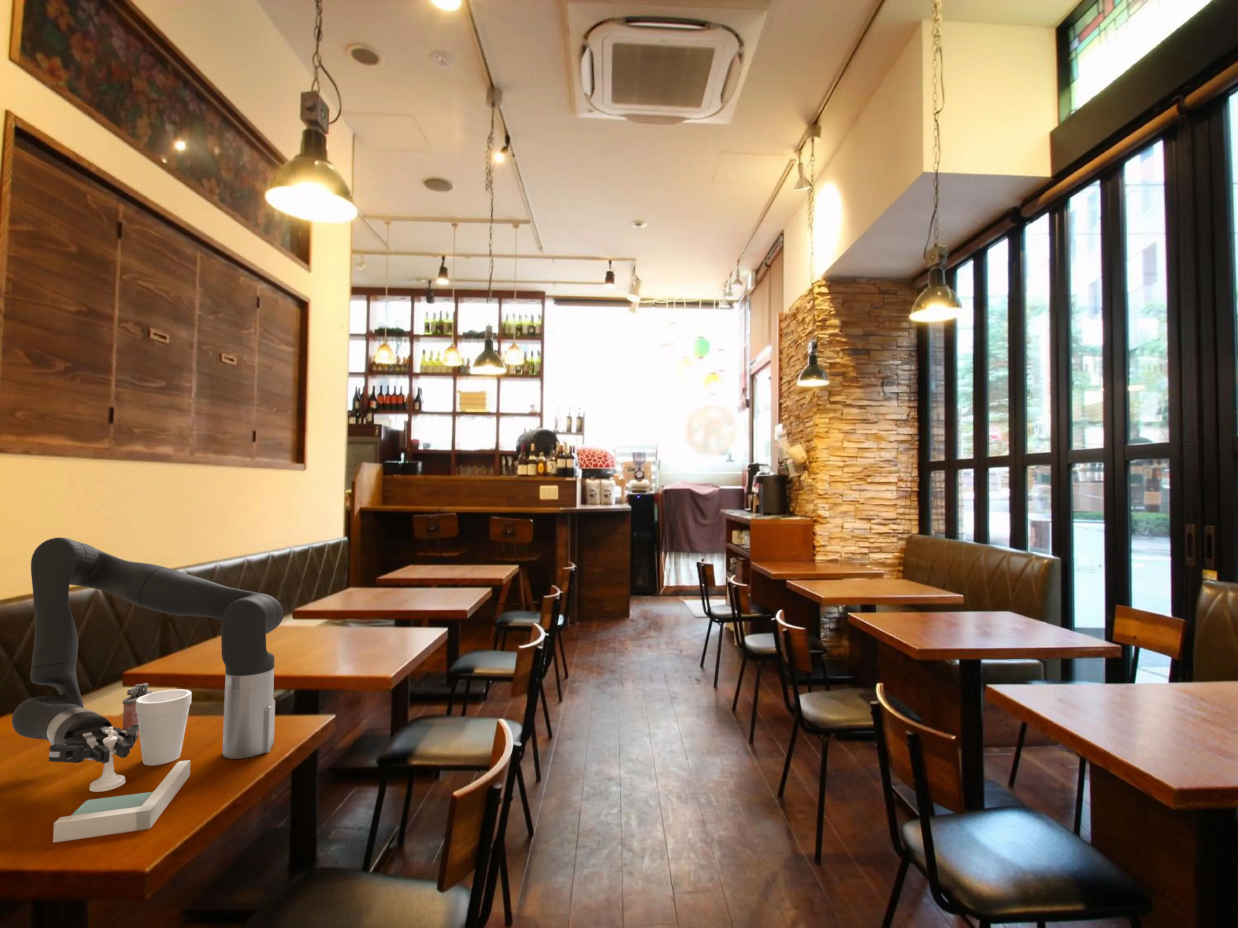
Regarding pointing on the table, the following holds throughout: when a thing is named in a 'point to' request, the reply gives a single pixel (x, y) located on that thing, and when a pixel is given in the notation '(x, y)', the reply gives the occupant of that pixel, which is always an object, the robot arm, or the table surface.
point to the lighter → (133, 704)
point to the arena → (121, 810)
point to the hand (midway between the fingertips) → (116, 754)
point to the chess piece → (108, 768)
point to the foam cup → (162, 724)
